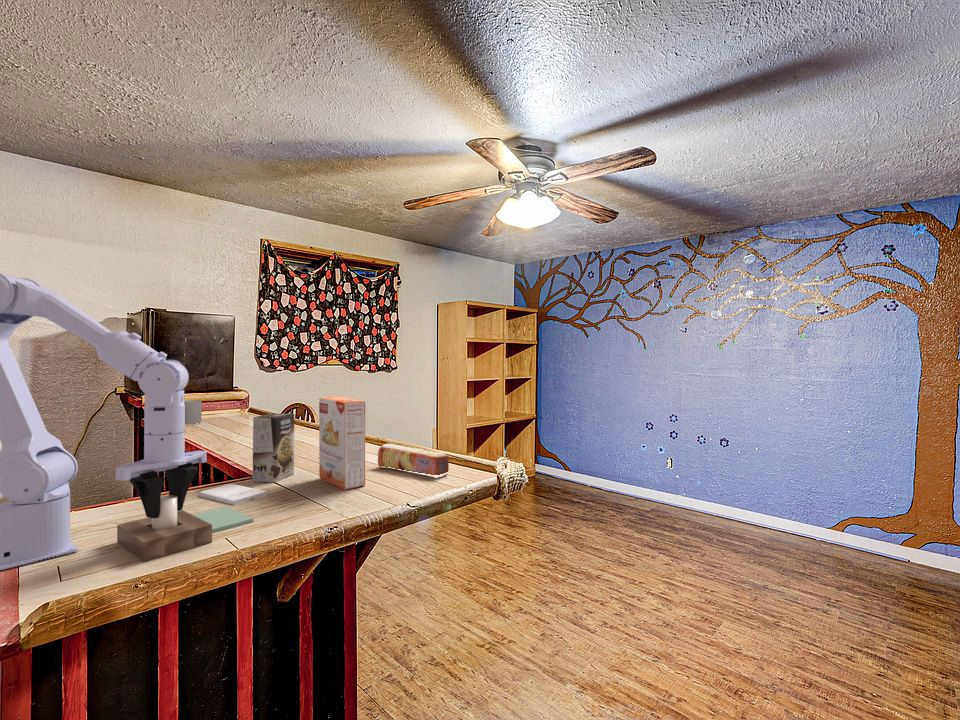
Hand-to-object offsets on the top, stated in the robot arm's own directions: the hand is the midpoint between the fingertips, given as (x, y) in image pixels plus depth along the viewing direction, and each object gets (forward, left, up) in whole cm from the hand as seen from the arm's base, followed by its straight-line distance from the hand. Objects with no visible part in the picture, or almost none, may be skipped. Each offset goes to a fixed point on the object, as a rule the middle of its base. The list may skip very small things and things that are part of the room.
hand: (164, 513), depth 82 cm
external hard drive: (+20, +18, -6) cm, 28 cm away
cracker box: (+42, +9, -5) cm, 43 cm away
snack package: (+62, +4, -5) cm, 62 cm away
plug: (0, 0, -4) cm, 4 cm away
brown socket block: (0, 0, -5) cm, 5 cm away
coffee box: (+34, +26, -5) cm, 43 cm away
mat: (+10, +4, -5) cm, 12 cm away
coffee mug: (+57, +141, -5) cm, 152 cm away
